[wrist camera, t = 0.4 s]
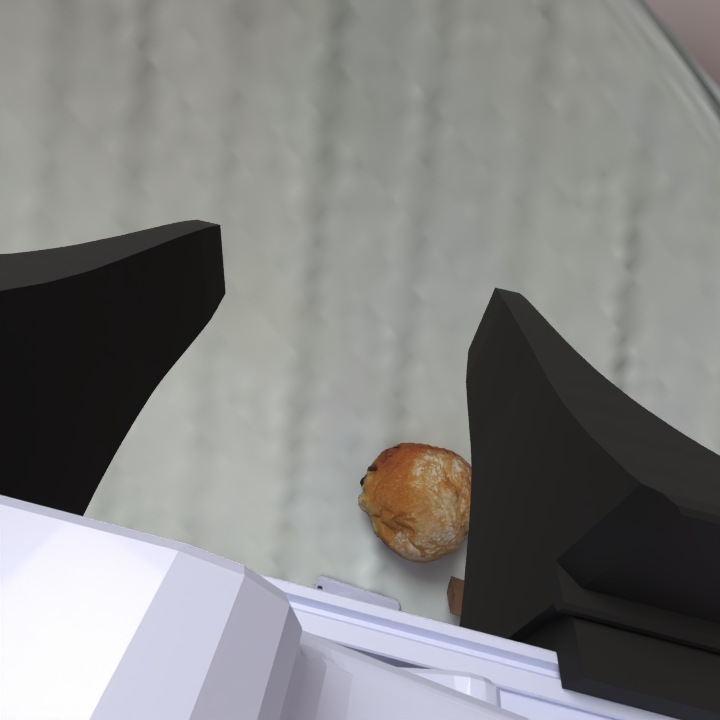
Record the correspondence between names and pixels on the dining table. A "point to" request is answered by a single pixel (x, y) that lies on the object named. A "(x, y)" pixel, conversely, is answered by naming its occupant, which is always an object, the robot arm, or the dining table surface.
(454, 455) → the bread roll
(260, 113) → the dining table surface
